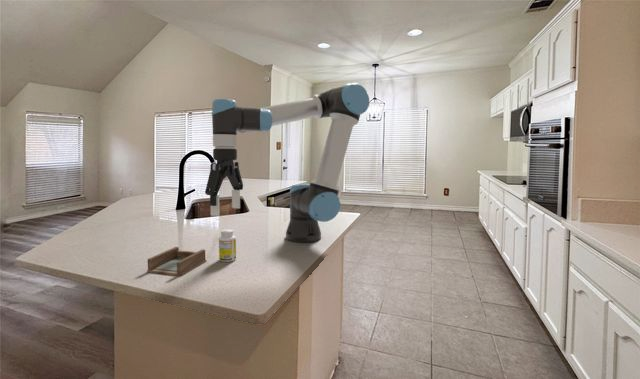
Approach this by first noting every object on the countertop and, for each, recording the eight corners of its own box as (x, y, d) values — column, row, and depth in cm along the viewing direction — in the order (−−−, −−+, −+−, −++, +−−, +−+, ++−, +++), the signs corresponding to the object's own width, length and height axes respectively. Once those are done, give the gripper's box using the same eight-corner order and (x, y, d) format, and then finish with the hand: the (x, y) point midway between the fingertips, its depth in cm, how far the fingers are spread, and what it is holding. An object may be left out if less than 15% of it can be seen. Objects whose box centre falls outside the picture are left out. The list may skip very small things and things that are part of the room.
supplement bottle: (230, 256, 116) (229, 227, 115) (239, 259, 113) (239, 230, 111) (216, 260, 112) (215, 230, 111) (225, 263, 108) (224, 233, 107)
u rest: (206, 261, 110) (206, 249, 110) (181, 276, 98) (181, 262, 97) (175, 258, 113) (174, 246, 113) (147, 272, 101) (146, 259, 100)
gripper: (233, 147, 120) (234, 204, 123) (191, 147, 96) (193, 218, 99) (252, 148, 119) (252, 206, 121) (214, 148, 95) (216, 220, 97)
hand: (226, 211), depth 110 cm, fingers open, 13 cm apart
